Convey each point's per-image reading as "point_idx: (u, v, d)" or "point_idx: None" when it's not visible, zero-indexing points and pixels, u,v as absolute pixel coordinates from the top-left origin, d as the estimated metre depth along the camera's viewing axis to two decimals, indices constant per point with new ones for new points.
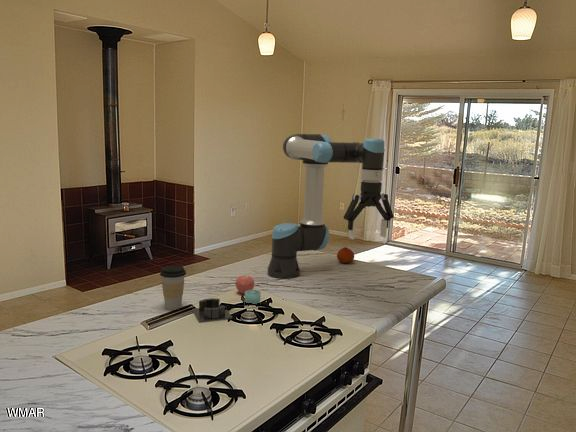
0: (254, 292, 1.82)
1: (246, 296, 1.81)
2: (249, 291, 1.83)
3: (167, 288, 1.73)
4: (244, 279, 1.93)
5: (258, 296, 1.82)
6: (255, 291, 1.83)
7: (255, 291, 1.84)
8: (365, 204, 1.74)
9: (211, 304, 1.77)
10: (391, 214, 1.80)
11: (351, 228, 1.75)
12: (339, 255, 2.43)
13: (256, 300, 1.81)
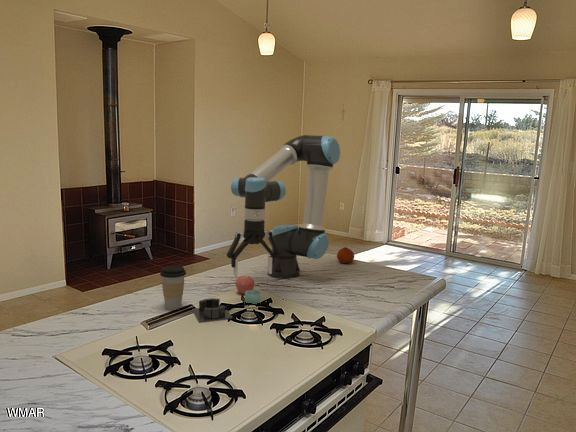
0: (254, 292, 1.82)
1: (246, 296, 1.81)
2: (249, 291, 1.83)
3: (167, 288, 1.73)
4: (244, 279, 1.93)
5: (258, 296, 1.82)
6: (255, 291, 1.83)
7: (255, 291, 1.84)
8: (247, 242, 1.77)
9: (211, 304, 1.77)
10: (276, 251, 1.82)
11: (234, 265, 1.77)
12: (339, 255, 2.43)
13: (256, 300, 1.81)
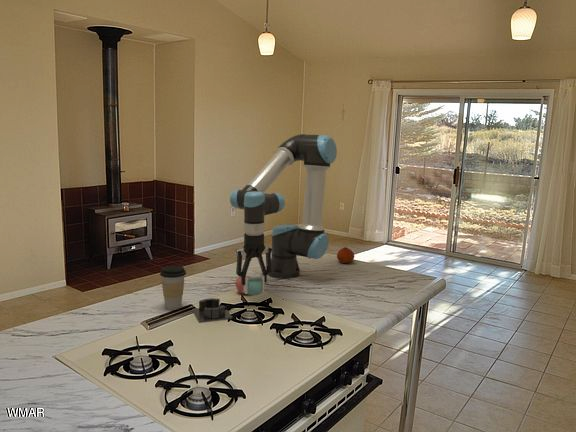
0: (255, 280, 1.82)
1: None
2: (250, 279, 1.83)
3: (167, 288, 1.73)
4: None
5: (259, 284, 1.81)
6: (256, 279, 1.83)
7: (257, 278, 1.83)
8: (250, 257, 1.78)
9: (211, 304, 1.77)
10: (269, 269, 1.83)
11: (244, 283, 1.81)
12: (339, 255, 2.43)
13: (257, 287, 1.81)
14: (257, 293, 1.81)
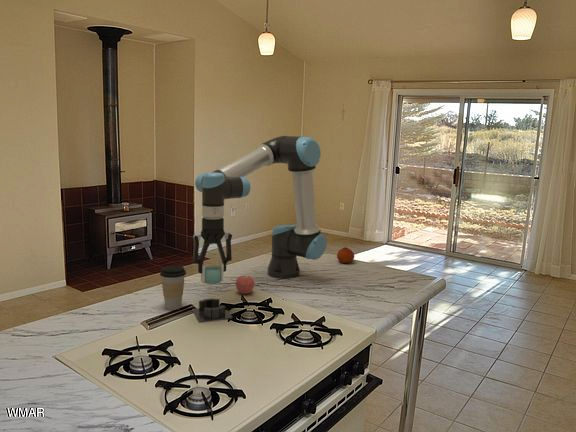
0: (214, 268, 1.69)
1: (205, 272, 1.68)
2: (209, 267, 1.70)
3: (167, 288, 1.73)
4: (244, 279, 1.93)
5: (218, 272, 1.68)
6: (215, 267, 1.70)
7: (215, 266, 1.71)
8: (207, 243, 1.66)
9: (211, 304, 1.77)
10: (229, 256, 1.70)
11: (201, 271, 1.68)
12: (339, 255, 2.43)
13: (215, 276, 1.68)
14: (215, 282, 1.68)
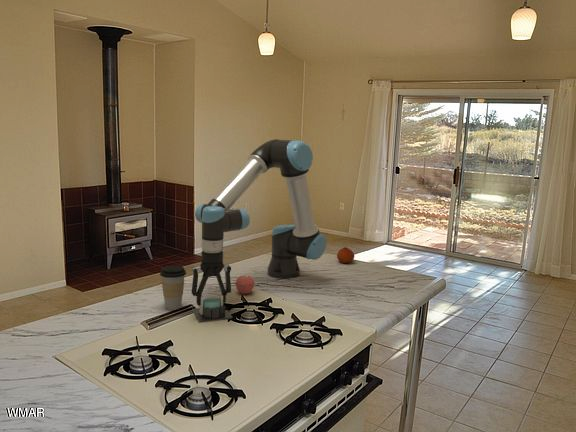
0: (213, 300, 1.71)
1: (204, 304, 1.70)
2: (208, 299, 1.72)
3: (167, 288, 1.73)
4: (244, 279, 1.93)
5: (217, 304, 1.70)
6: (214, 299, 1.72)
7: (215, 298, 1.73)
8: (206, 276, 1.68)
9: None
10: (229, 288, 1.72)
11: (199, 303, 1.70)
12: (339, 255, 2.43)
13: None
14: None
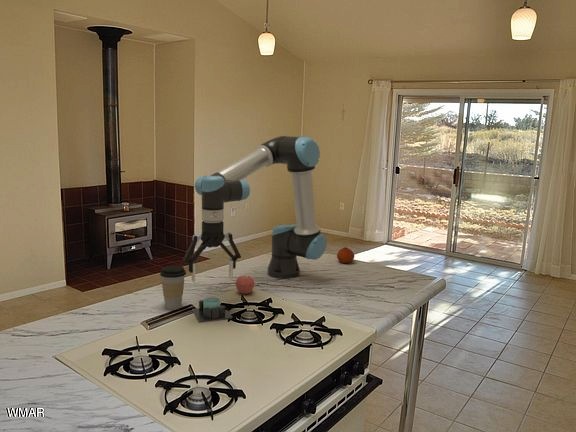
0: (213, 300, 1.71)
1: (204, 304, 1.70)
2: (208, 299, 1.72)
3: (167, 288, 1.73)
4: (244, 279, 1.93)
5: (217, 304, 1.70)
6: (214, 299, 1.72)
7: (215, 298, 1.73)
8: (205, 245, 1.66)
9: None
10: (238, 254, 1.71)
11: (191, 270, 1.66)
12: (339, 255, 2.43)
13: None
14: None
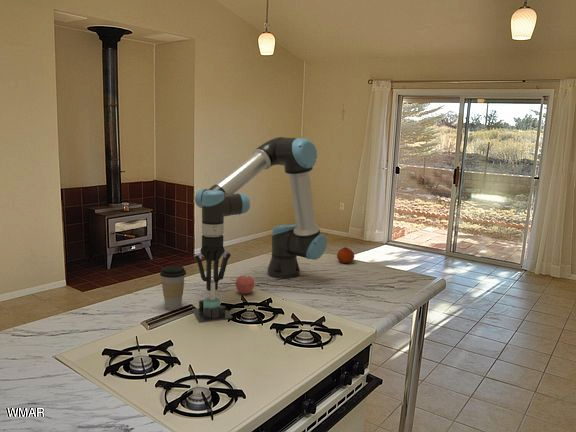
0: (213, 300, 1.71)
1: (204, 304, 1.70)
2: (208, 299, 1.72)
3: (167, 288, 1.73)
4: (244, 279, 1.93)
5: (217, 304, 1.70)
6: None
7: (215, 298, 1.73)
8: (209, 260, 1.67)
9: None
10: (222, 275, 1.70)
11: (209, 289, 1.70)
12: (339, 255, 2.43)
13: None
14: None
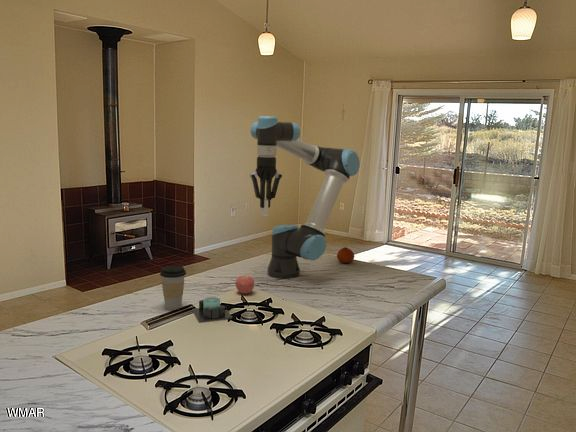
0: (213, 300, 1.71)
1: (204, 304, 1.70)
2: (208, 299, 1.72)
3: (167, 288, 1.73)
4: (244, 279, 1.93)
5: (217, 304, 1.70)
6: (214, 299, 1.72)
7: (215, 298, 1.73)
8: (264, 179, 1.86)
9: None
10: (274, 194, 1.90)
11: (263, 206, 1.89)
12: (339, 255, 2.43)
13: None
14: None
